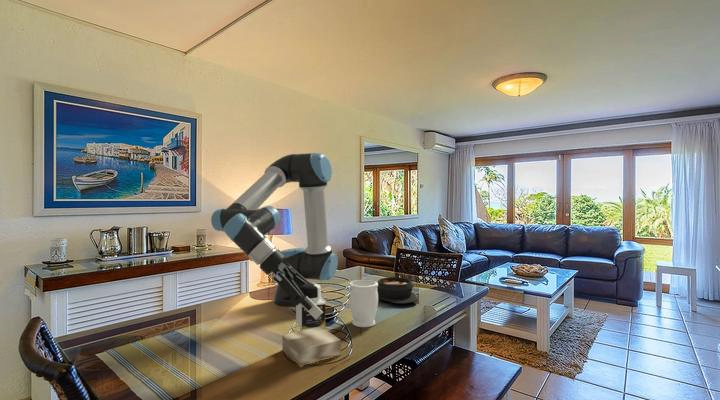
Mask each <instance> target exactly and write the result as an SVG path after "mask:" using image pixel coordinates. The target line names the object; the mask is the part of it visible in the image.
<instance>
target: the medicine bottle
mask: <svg viewBox="0 0 720 400" xmlns="http://www.w3.org/2000/svg"><path fill="white" fill-rule="evenodd" d="M321 287H322V286H321V285H320V284H319V283H314V282H310V283H308V284H304V285H302V286H301V287H300V290H301V291H302V293H303V294H304V295H305V297H306V296H307V297H308V298H309V299H310V300H311V301H312V302H313V303H314V304H315V305H316V306H317V307H318V308H319V309H320V310H321V311H322V312H323V313H322V314H321V315H320V316H319V317H318V318H317V319H315V318H314V317H313V316H312V315H311V314H310V313H309V312H308V311H307V310H306V309H305V308H304V307H303V306H302V305H301V304H299V305H295V307H296V308H295V312H296V313H295V317H296V318H295V320H296V321H295V322H296V323H297V325H298V327H299V328H300V330H301V331H303V330H307V329H313V328H320V327H322V328H325V327H326V303H324V302H323V301H322V300H321V299H320V298H321V297H322V292H321V291H322V290H321V289H322V288H321Z"/></svg>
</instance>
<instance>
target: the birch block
mask: <svg viewBox="0 0 720 400" xmlns="http://www.w3.org/2000/svg"><path fill="white" fill-rule="evenodd" d="M281 337H282V340H281V341H282V347H281V348H282V349H281V350H282V352H284V353H285V355H286V356H288V355H289V356H290V357H291V358H292V359H293V360H294V361H295V362H297V363H298V364H299V365H300V366H302V365H305V364H309V363H311V362H314V361H317V360H321V359H324V358H328V357H332V356H335V355H339V354H341V355H342V340H341V338H339V337H337V336H336V335H334V334H333V333H331V332H330V331H328V330H327V329H325V327H320V328H313V329H307V330H298V331H295V332H292V333H286V334H283V335H282V336H281ZM289 356H288V357H289ZM290 357H289V358H290ZM291 358H290V359H291ZM292 359H291V360H292ZM293 360H292V361H293ZM294 361H293V362H294ZM295 362H294V363H295Z"/></svg>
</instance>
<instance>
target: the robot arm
mask: <svg viewBox="0 0 720 400" xmlns="http://www.w3.org/2000/svg"><path fill="white" fill-rule="evenodd" d="M332 173H333V171H332V165H331V162H330V160H329V158H328V157H327V155H325V154H323V153H320V152H317V153H315V152H313V153H291V154H287V155H284V156H281V157H280V158H278V159H277V160H275V161H274V162H273V163H271V164H269V166H267V167H266V168H265V170H264V173H263V175H261V177H259V178H258V179H257V180H256V181H255V182H254V183H253V184H252V185H250V187H249V188H247V189H246V190H245V191H244V192H243V193H242V194H241V195H240V196H238V197H237V198H236V199H235V200H234V201H233V202H232V203H231V204H230V205H229V206H228V207H226V208H220V209H216V210H215V211H214V212H212V214H211V218H210V219H211V220H210V223H211V226H212V228H213V229H214V230H215V231H217V232H224V233H225V234H226V236H227V237H228V238H229V239H230V241H232V242H233V243H234V244H235V245H236V246H237V247H238V248H239V249H240V250H241V251H242V252H244V254H245V255H247V256H248V258H249V261H251V262H253V263H254V264H255V265H257V266H258V265H259V269H260V270H261V271H263V273H265V274H266V275H267V276H268V275H270V274H271V273H273V274H274V275H275V276H273V280H274V281H275V282H276V283H277V287H276V290H275V292H274V296H273V303H274V304H275V305H277V306H281V307H283V306H284V307H293V306H295V307H296V305H299V304H301V305H302V306H303V307H304V308H305V309H306V310H307V311H308V312H309V313H310V314H311V315H312V316H313V317H314V318H315V319H317V318H318V317H319V316H320V315H321V314H322V313H323V312H322V311H321V310H320V309H319V308H318V307H317V306H316V305H315V304H314V303H313V302H312V301H311V300H310V299H309V298H308V297H307V296H306V297H305V295H304V294H303V293H302V291H301V290H300V287H301V286H302V285H304V284H308V283H311V282H310V281H308V280H314V281H321V282H322V281H330V280H332V279H333V278H334V276H335V275H336V272H337V270H338V264H339V263H338V262H339V258H338V255H337V254H336V253H335V252H333V249H332V246H331V245H329V243H328V241H329V239H328V228H327V227H328V226H327V215H326V214H327V213H326V202H325V201H326V200H325V199H326V198H325V189H326V188H327V186H328V182H330V181H331V179H332ZM289 183H298V187H299V188H300V190H302V193H303V204H304V215H305V217H304V218H305V228H306V239H307V240H306V241H307V242H306V243H307V247H306V248H304V247H294V248H288V249H284V250H280V249H278V248H277V249H276V245H275V244H274V243H273V242H272V241H271V240H270V239H268V237H266V234H267V233H270V232H271V231H272V230H274V229H275V228H276V227H277V225H278V226H279V224H280V223H281V215H280V212H279V210H277V208H276V207H274V206H272V205H266V206H263V207H261V206H262V205H263V204H264V203H265V201H267V200H268V198H270V197H271V195H273V194H274V193H275V191H276V190H277V189H278V188H282V187H284V185H286V184H289ZM260 207H261V208H260ZM259 208H260V209H259ZM320 299H321V300H322V301H323V302H324V303H325V304H326V303H327V301H326V300H325V299H324V298H323V297H322V296H321V298H320Z"/></svg>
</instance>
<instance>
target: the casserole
mask: <svg viewBox="0 0 720 400" xmlns="http://www.w3.org/2000/svg"><path fill="white" fill-rule="evenodd" d="M377 282H378V286H377V292H378V300H381V301H383V302H387V303H393V304H397V305H398V304H399V305H402V304H411V303H414V302H417V301H418V298H417V296H416V294H415V293H414V292H412V291H413V288H414V287H415V286H414V284H413V282H412V280H411V279H408V278H405V277H398V276H397V277H396V276H395V277H394V276H391V277H390V276H389V277H383V278H380V279H378V280H377Z"/></svg>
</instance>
